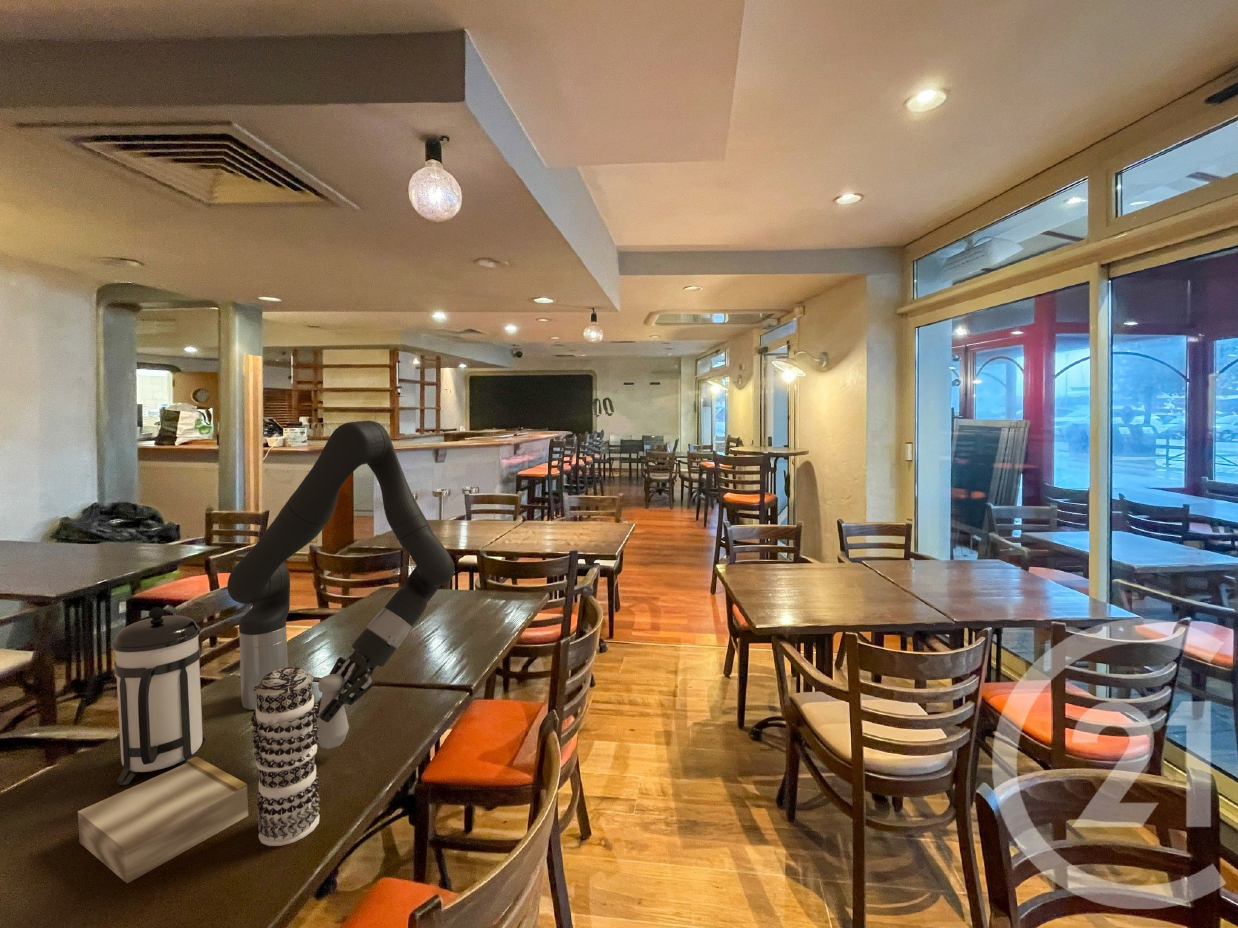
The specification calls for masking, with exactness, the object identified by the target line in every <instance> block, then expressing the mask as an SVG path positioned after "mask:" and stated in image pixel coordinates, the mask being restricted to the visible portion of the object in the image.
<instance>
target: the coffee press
mask: <svg viewBox="0 0 1238 928" xmlns="http://www.w3.org/2000/svg"><path fill="white" fill-rule="evenodd" d="M165 613H166V612H165V611H164V609H163V608H162V607H160V606H157V607H153V608H151V609H150V611H149V612H148V614H147V615H148V616H149V618H146V619H142V620H139V621H136V622H133V623H131V624H129V625H127V626H125V627H124V628H122V629H121V630H120V631H118V633H117V634H116V636H115V638H114V639H113V641H112V642H111V648H112V650H113V651H114V654H115V655H114V656H115V661H114V663H113V665H114V675H116V688H117V693H116V694H117V705H118V707H117V708H118V725H119V726H118V727H119V742H120V743H119V744H120V758H121V759H120V760H121V765H122V771H121V772H120V773H119V774H120V775H119V776H118V777H117V781H116V784H117V785H120V786H124V787H126V786H128V785H130V784H131V782H132V781H133V780H134V778H135V776H136V775H137V774H139V773H145V772H146V773H148V772H155V771H157V770H162V769H165V768H169V767H172V766H174V765H177V764H178V765H179V766H181V765H183V764H186V763H188V760H190V759H192V758H194V754H195V753H196V752H197V751H198V750H199V749H200V747H202V746H203V745H204V744H205V741H206V738H205V737H204V736H203V717H202V696H201V693H202V691H201V671H200V658H201V646H200V645H199V636H200V633H201V627H200V626H199V625H198V624H197V623H196V621H195V620H194V619H192V618H191V617H189V616H185V615H164V614H165ZM129 771H130V773H129Z"/></svg>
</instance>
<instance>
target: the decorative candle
mask: <svg viewBox="0 0 1238 928" xmlns="http://www.w3.org/2000/svg"><path fill="white" fill-rule="evenodd" d="M314 678H315V677H314V675H312V674H311V673H309V672H308V673H307V671H306V670H304V668H301V667H297V666H293V667H291V666H288V668H282V669H278V670H275V671H273V672H270V673H268V674H267V675H266V676H264V677H263V679H262V680H261V682H260V683H258V684H257V685H256V686H255V687H254V691H255V693H256V694H257V707H256V709H255V710H254V711H253V712H252V716H251V717H250V722H251V726H253V729H252V731H251V734H252V735H253V739H252V743H253V748H254V749H255V752H254V754H253V755H254V757H255V766H256V767H257V769H258V772H259V781H258V791H257V792H256V796H257V797H256V798H257V803H256V804H257V811H258V812H257V815H256V816H257V822H258V823H257V830H258V832H259V833H258V840H259V841H260V843H261V844H263V845H265V846H268V847H280V846H281V847H282V846H285V845H289V844H293V843H296V842H297V841H299V840H301V839H303V838H305V837H307V836H308V835H309V834H310V833H312V832H313V831H315V829H316V828H317V826H318V825H319V823H320V814H319V811H320V810H321V808H320V807H319V806H320V804H319V802H320V801H321V799H320V794H318V792H319V790H320V787H319V782H320V778H319V775H318V774H317V765H316V763H315V756H316V754H317V751H318V744H317V743H318V739H319V738H318V736H317V734H316V733H317V732H318V729H319V728H318V726H316V725H317V720H318V718H319V715H318V714H317V713H316V712H317V711H318V708H319V705H318V704H316V703H317V702H315V696H314V694H313V681H314ZM315 723H316V724H315Z"/></svg>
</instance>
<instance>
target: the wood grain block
mask: <svg viewBox="0 0 1238 928" xmlns="http://www.w3.org/2000/svg"><path fill="white" fill-rule="evenodd" d="M248 801H249V800H248V784H247V783H246V782H245V781H242V780H240V779H239V778H237V777H235V776H233V775H232V774H229V773H227V772H225V771H224V770H222V769H221V768H219V767H217V766H215V765H214V764H212V763H210V762H208V761H206V760H204V759H202V758H200V757H199V756H193V758H192V759H190V760H188V763H186V764H183V765H179V766H177V767H175V768H173V769H170V770H168V771H166V772H163V773H161V774H159V775H157V776H155V777H152V778H150V779H148V780H145V781H144V782H141V783H139V784H136V785H134V786H132V787H130V788H127V789H125V790H123V791H121V792H118V793H116V794H114V795H112V796H110V797H107V798H105V799H103V800H100V801H98V802H96V803H94V804H91V805H89V806H87V807H84V808H82V809H80V810H77V820H78V821H77V823H78V824H77V825H78V835H79V836H78V838H79V840H78V841H79V844H80V845H81V846H83V848H84V849H86V850H88V851H89V852H90V853H91V855H93V856H94V857H96V858H97V860H99V861H100V862H101V863H102V864H103V865H105V866H106V867H107V868H108V869H110V870H111V871H112V872H113V873H114V874H115V875H116V876H117V877H119V878H120V879H121V880H122V881H123V882H124V883H126V884H129V883H131V882H133V881H134V880H136V879H138V878H140V877H142V876H143V875H145V874H147V873H149V872H151V871H153V870H154V869H156V868H157V867H159V866H161V865H164V864H165V863H167V862H168V861H170V860H172V859H174V858H176V857H177V856H179V855H181V854H183V853H184V852H186V851H188V850H190V849H191V848H193V847H195V846H197V845H199V844H200V843H202V842H205V841H206V840H208V839H209V838H211V837H213V836H215V835H217V834H219V833H221V832H222V831H224V830H225V829H227V828H229V827H231V826H233V825H235V824H236V823H238V822H239V821H241V820H243V819H245V818H247V817H249V803H248Z"/></svg>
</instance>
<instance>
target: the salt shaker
mask: <svg viewBox="0 0 1238 928" xmlns="http://www.w3.org/2000/svg"><path fill="white" fill-rule="evenodd" d="M329 674H330V673H329ZM329 674H327V675H324V676H323V677H321V678H320V679H319V681H318V684H317V687H318V690H319V692H320V693H321V697H322V698H321V697H320V698H321V704H320V709H319V714H318V715H320V714H321V712H322V711H323V710H324V709H325V707H326V706H327V705H328V704H329V703H330V702H331V700H332V699H334V696H335V695H336V693H337V692H338V690H340V689H341V684H342V680H343V677H342V676H341V675H339V674H330V675H329ZM316 726H318V728H319V729H318V732H317V733H316V734H317V736H318V738H319V739H318V741H317V743H318V744H319V746H320V748H323V749H328V750H330V749H333V748H336V747H339V746H341V745H342V744H343V742H344V741H345V740H346V737H347V734H348V732H349V729H350V726H349V720H348V717H347V713H346V709H345V705H342V706H341V708H340V709H339V710H338V712H337V713H336V714H335V715H334V717H333V718H332V719H331V720H330V721H329V722H325V721H323V720H321V719H320V718H318V720H317V721H316Z"/></svg>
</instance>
